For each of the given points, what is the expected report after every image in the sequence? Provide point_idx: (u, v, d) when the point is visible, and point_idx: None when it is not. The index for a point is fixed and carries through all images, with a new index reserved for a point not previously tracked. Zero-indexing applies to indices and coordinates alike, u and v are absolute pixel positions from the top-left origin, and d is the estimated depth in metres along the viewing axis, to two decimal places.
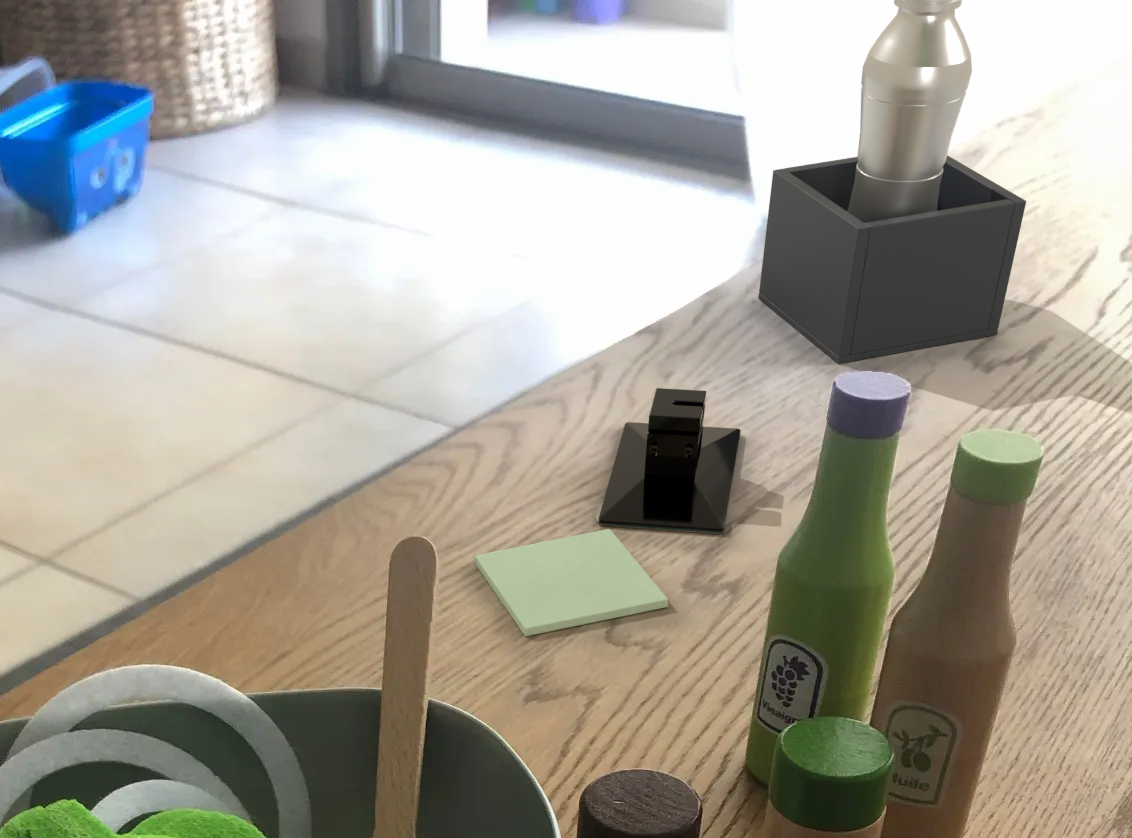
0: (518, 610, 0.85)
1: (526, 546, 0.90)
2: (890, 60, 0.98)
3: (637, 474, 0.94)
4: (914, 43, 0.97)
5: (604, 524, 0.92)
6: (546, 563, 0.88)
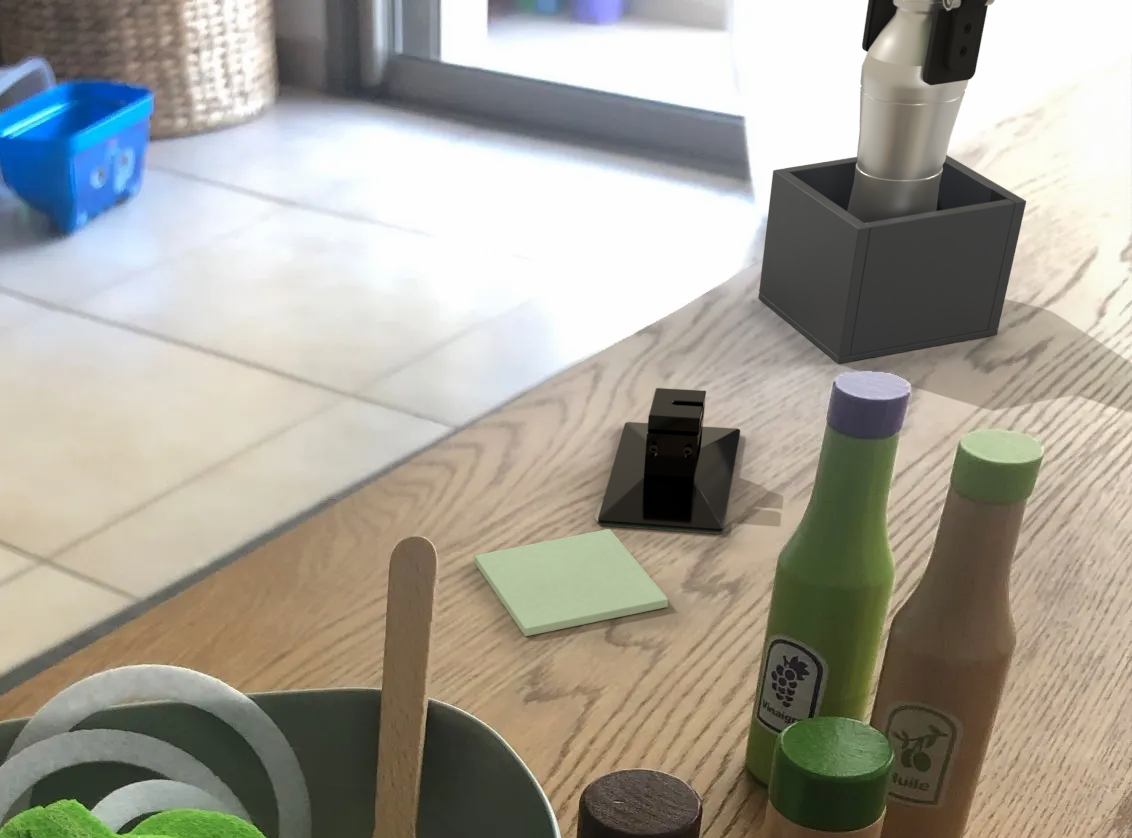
0: (518, 610, 0.85)
1: (526, 546, 0.90)
2: (890, 59, 0.98)
3: (637, 474, 0.94)
4: (913, 42, 0.97)
5: (603, 524, 0.92)
6: (546, 563, 0.88)
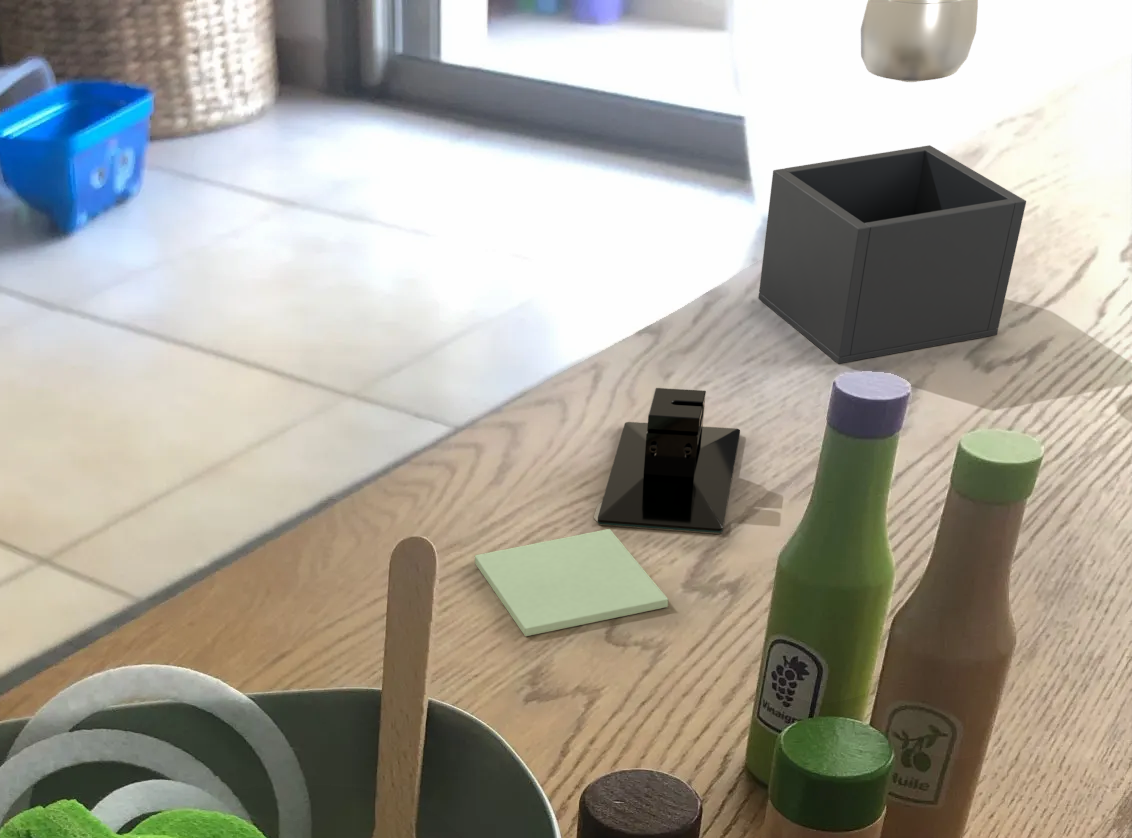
0: (518, 610, 0.85)
1: (526, 546, 0.90)
2: None
3: (636, 474, 0.94)
4: None
5: (603, 524, 0.92)
6: (546, 563, 0.88)
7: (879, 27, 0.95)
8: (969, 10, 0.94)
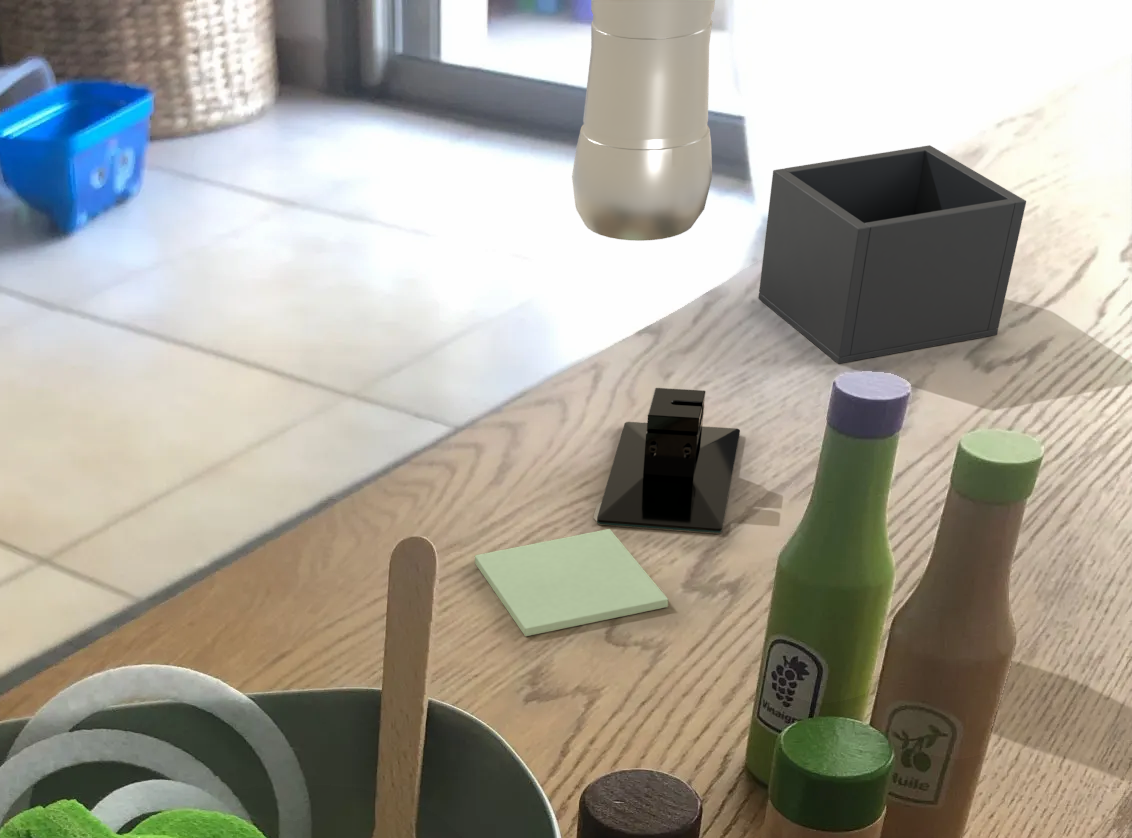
0: (518, 610, 0.85)
1: (526, 546, 0.90)
2: None
3: (636, 474, 0.94)
4: None
5: (602, 524, 0.92)
6: (546, 563, 0.88)
7: (588, 175, 0.76)
8: (696, 157, 0.74)
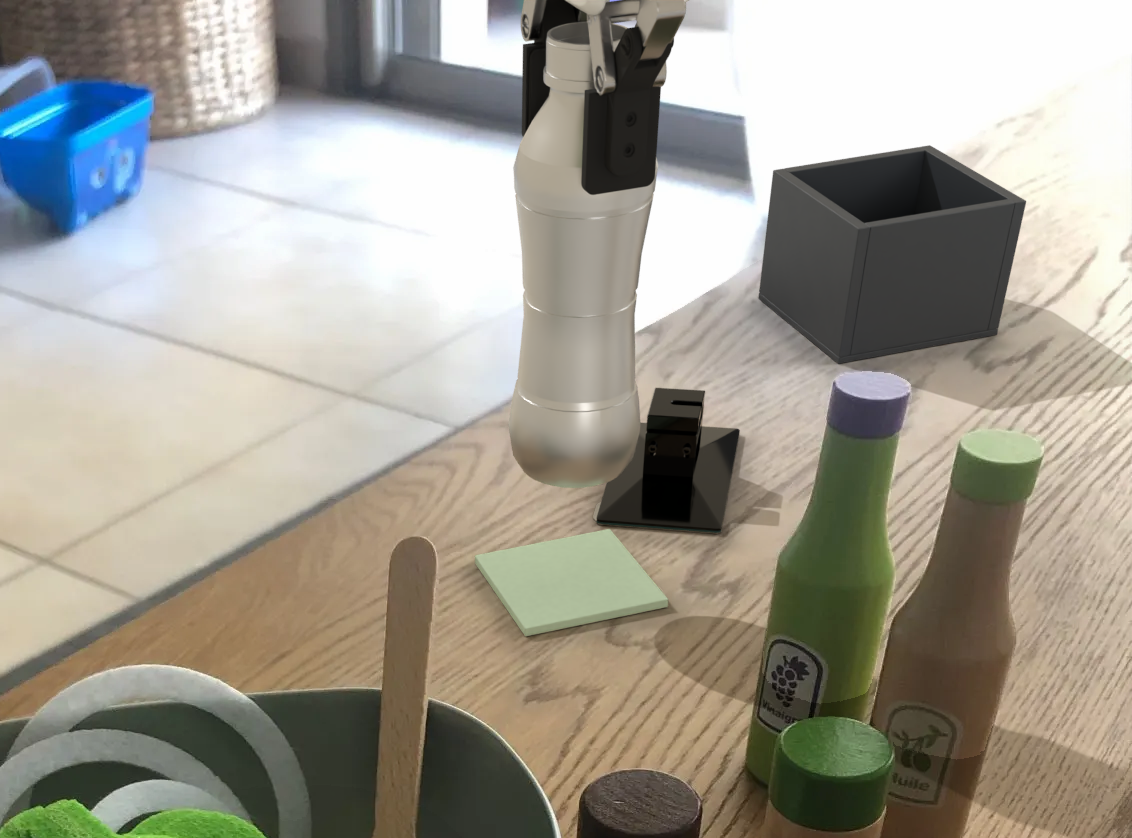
0: (518, 610, 0.85)
1: (526, 546, 0.90)
2: (541, 157, 0.71)
3: (635, 474, 0.94)
4: (568, 135, 0.70)
5: (602, 523, 0.92)
6: (546, 563, 0.88)
7: (522, 429, 0.80)
8: (623, 416, 0.79)
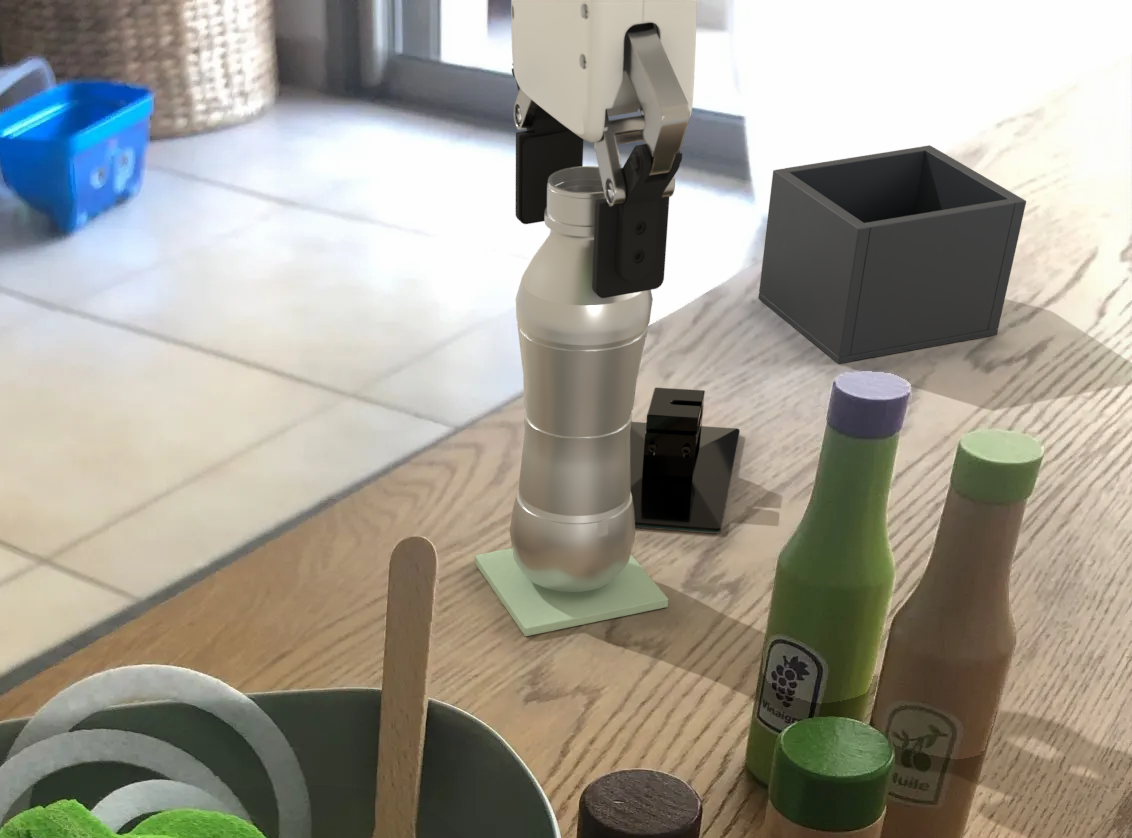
0: (518, 610, 0.85)
1: None
2: (541, 293, 0.75)
3: (635, 473, 0.94)
4: (567, 274, 0.74)
5: None
6: None
7: (523, 537, 0.84)
8: (619, 526, 0.83)
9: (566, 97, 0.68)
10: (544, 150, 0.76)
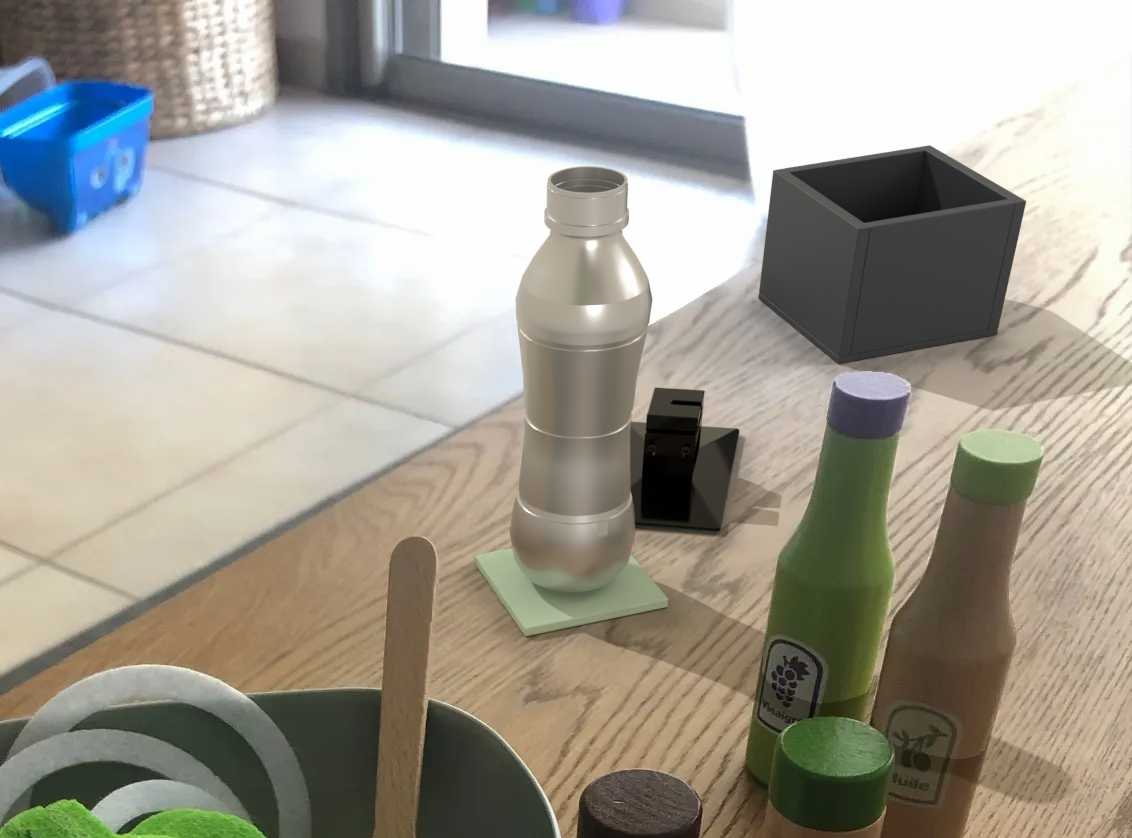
0: (518, 610, 0.85)
1: None
2: (541, 293, 0.75)
3: (635, 473, 0.95)
4: (567, 274, 0.74)
5: None
6: None
7: (523, 537, 0.84)
8: (619, 526, 0.83)
9: None
10: None
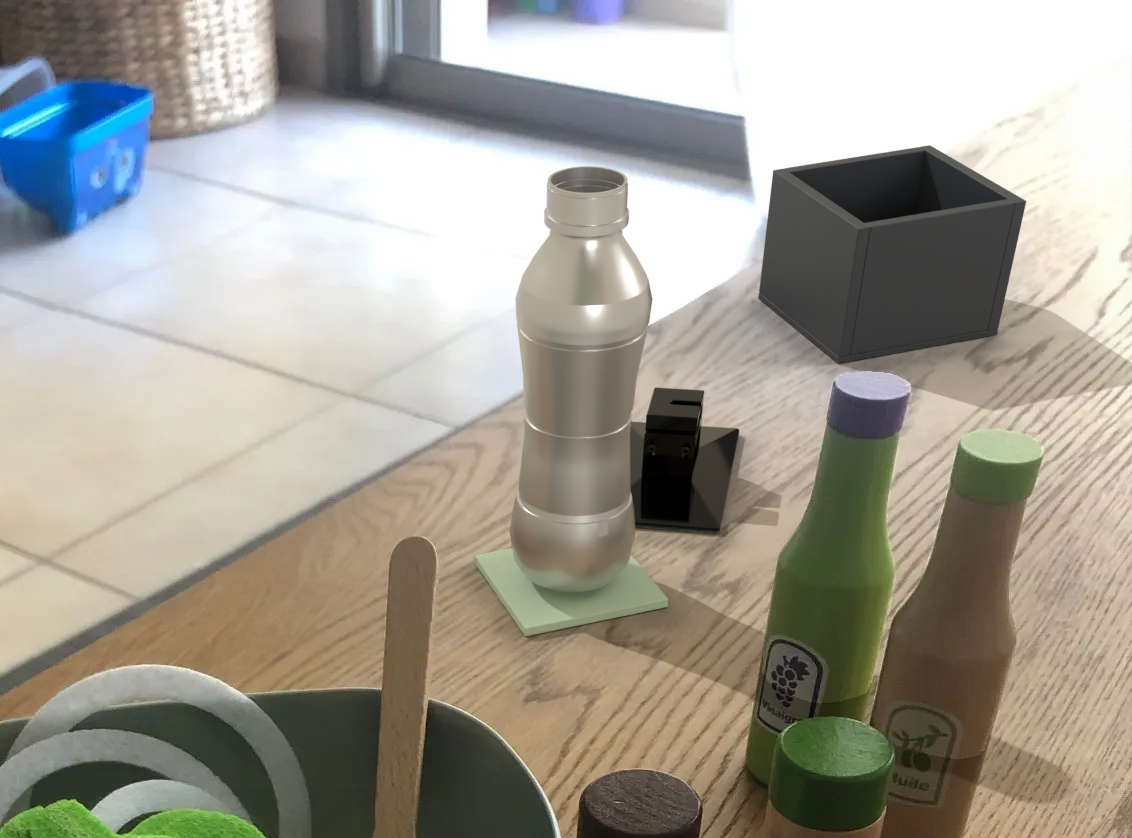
0: (518, 610, 0.85)
1: None
2: (541, 293, 0.75)
3: (634, 473, 0.95)
4: (567, 274, 0.74)
5: None
6: None
7: (523, 537, 0.84)
8: (619, 526, 0.83)
9: None
10: None
